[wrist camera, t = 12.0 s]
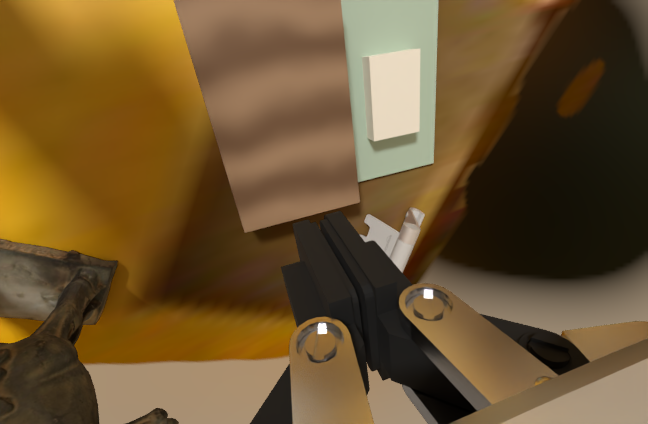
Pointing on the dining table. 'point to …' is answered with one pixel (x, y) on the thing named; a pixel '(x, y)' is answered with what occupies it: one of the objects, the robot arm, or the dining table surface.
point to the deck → (276, 103)
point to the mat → (384, 37)
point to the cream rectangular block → (392, 93)
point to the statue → (52, 335)
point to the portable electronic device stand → (396, 236)
